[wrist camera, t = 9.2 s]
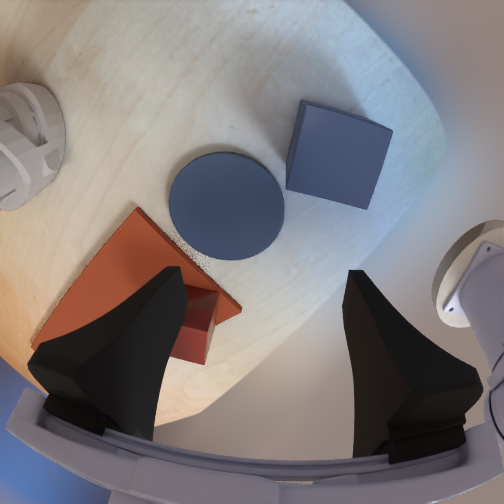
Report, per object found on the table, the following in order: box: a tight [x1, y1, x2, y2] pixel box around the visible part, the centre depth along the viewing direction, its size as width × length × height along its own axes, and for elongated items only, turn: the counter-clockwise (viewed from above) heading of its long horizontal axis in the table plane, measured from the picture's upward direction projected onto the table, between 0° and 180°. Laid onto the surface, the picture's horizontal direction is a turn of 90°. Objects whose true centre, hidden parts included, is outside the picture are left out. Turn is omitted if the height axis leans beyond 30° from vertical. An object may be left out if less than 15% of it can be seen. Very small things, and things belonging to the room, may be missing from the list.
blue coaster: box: [169, 152, 285, 260], centre depth 19 cm, size 8×8×1 cm
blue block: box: [286, 100, 393, 210], centre depth 14 cm, size 4×4×4 cm
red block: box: [170, 284, 220, 365], centre depth 22 cm, size 4×4×4 cm
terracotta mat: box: [31, 207, 242, 351], centre depth 31 cm, size 40×12×1 cm, turn 130°
